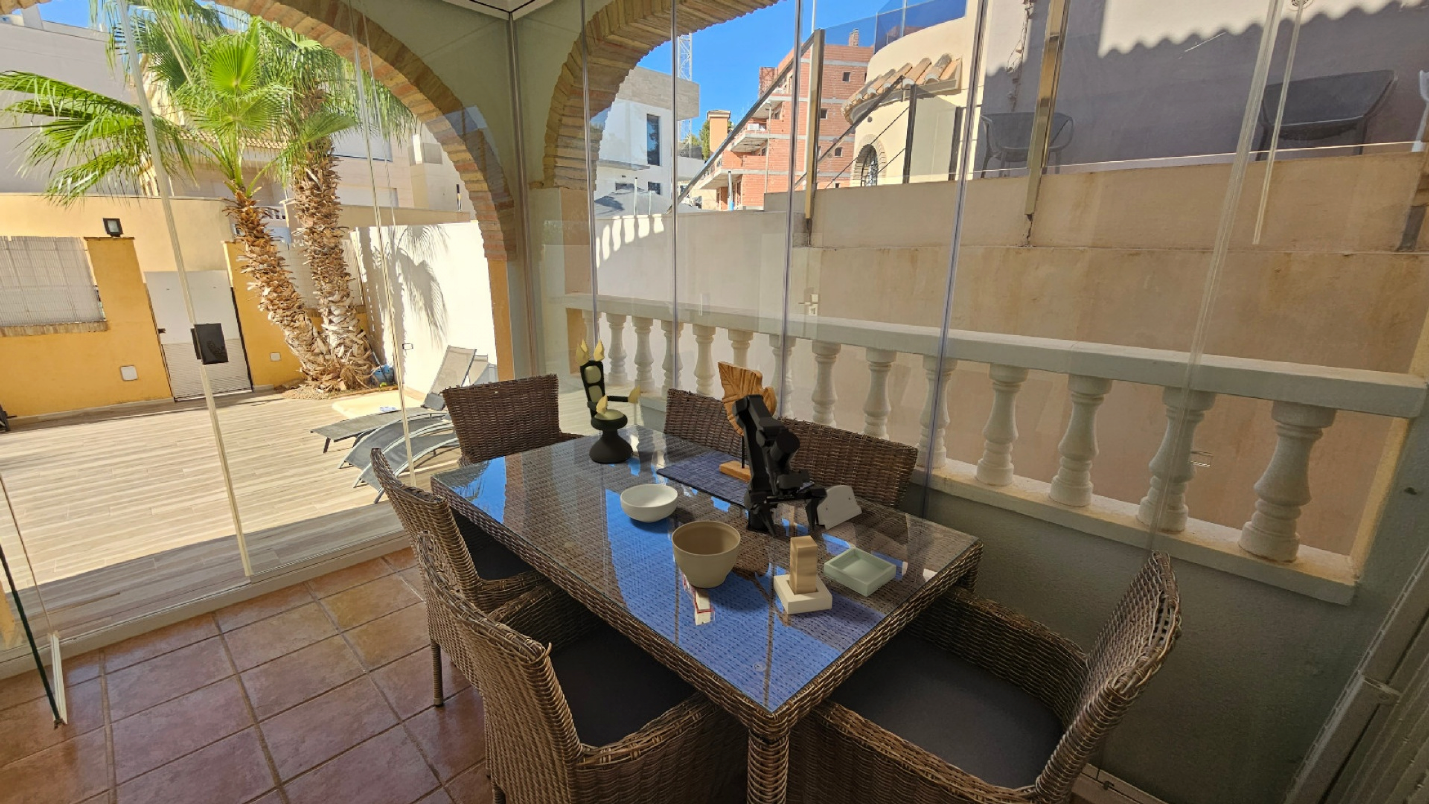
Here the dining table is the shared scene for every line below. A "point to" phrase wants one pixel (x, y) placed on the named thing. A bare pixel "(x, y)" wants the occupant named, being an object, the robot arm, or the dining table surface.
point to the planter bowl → (705, 551)
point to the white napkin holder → (837, 506)
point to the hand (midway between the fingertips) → (794, 533)
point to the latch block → (802, 596)
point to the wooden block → (803, 565)
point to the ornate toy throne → (603, 407)
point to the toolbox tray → (860, 570)
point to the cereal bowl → (649, 502)
